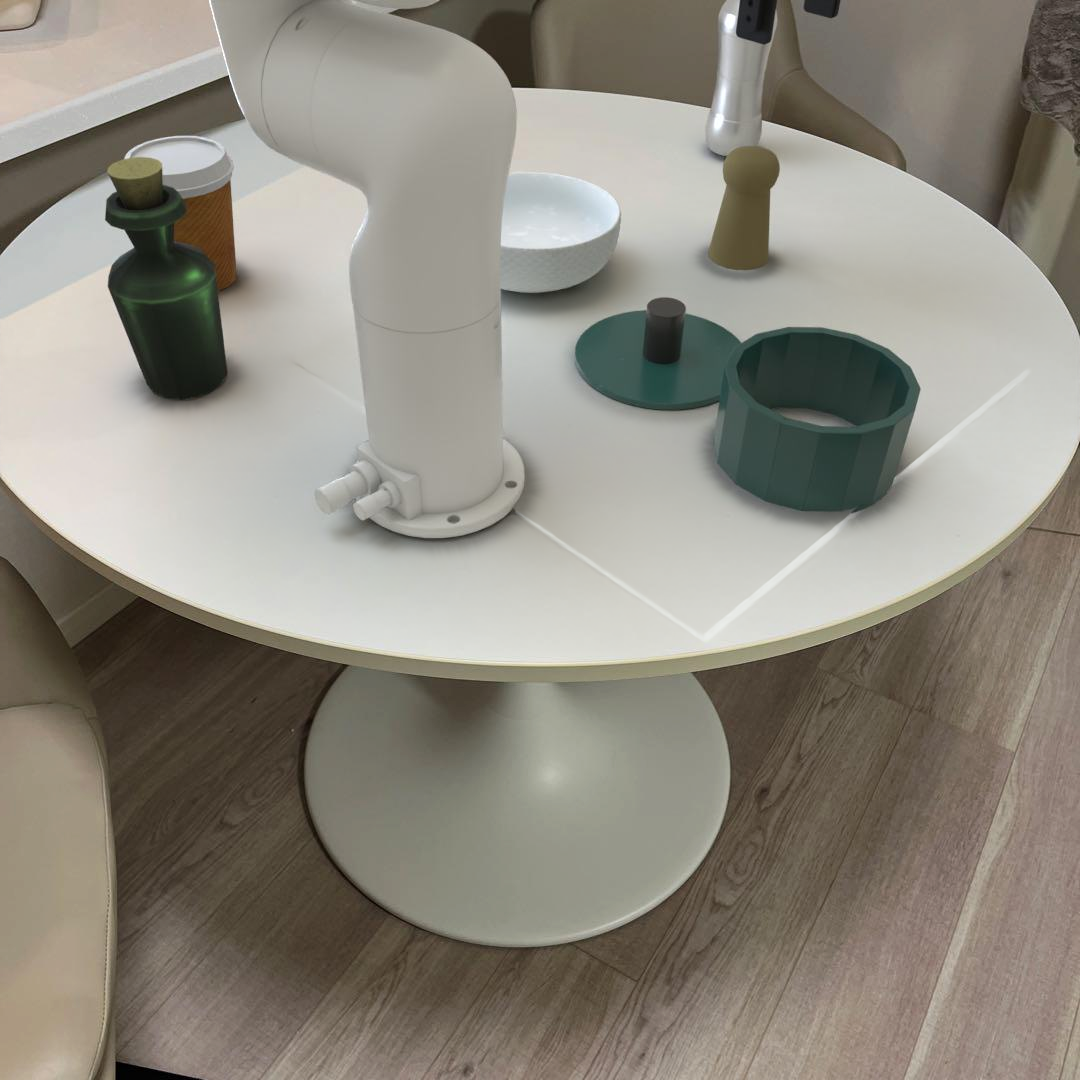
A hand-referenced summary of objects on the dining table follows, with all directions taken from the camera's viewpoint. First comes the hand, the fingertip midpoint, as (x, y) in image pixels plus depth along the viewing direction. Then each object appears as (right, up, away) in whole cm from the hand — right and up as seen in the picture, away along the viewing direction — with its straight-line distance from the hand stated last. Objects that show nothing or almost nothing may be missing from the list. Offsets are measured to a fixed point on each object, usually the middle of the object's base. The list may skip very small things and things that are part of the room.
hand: (787, 26), depth 89 cm
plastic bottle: (+2, +2, +35) cm, 35 cm away
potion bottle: (-50, -30, -1) cm, 59 cm away
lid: (-11, -28, +1) cm, 30 cm away
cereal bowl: (-22, -18, +12) cm, 31 cm away
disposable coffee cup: (-53, -19, +11) cm, 57 cm away
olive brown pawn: (-1, -16, +15) cm, 22 cm away
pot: (-1, -37, -8) cm, 38 cm away
